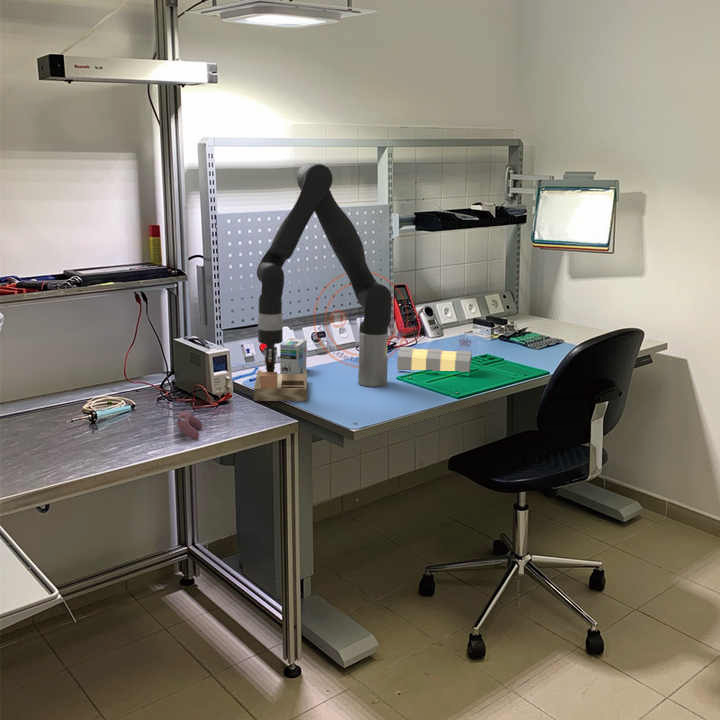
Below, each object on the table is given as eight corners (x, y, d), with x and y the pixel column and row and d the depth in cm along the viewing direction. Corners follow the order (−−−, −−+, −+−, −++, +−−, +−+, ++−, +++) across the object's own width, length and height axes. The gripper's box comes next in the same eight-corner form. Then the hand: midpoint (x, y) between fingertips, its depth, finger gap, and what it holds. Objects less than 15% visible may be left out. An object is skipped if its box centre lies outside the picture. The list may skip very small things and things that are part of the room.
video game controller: (189, 433, 219) (176, 411, 217) (204, 425, 219) (191, 403, 217) (184, 445, 210) (171, 422, 208) (200, 438, 210) (187, 415, 208)
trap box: (306, 381, 267) (306, 370, 266) (306, 400, 245) (307, 389, 244) (257, 381, 265) (257, 370, 265) (253, 400, 244) (253, 389, 243)
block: (277, 387, 250) (277, 371, 249) (276, 392, 245) (276, 376, 244) (261, 387, 250) (260, 371, 248) (260, 391, 245) (260, 376, 243)
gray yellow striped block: (470, 370, 287) (472, 334, 284) (469, 378, 277) (471, 340, 274) (400, 365, 291) (402, 330, 288) (396, 373, 281) (398, 336, 278)
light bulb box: (298, 376, 272) (298, 345, 270) (279, 375, 273) (279, 344, 271) (307, 369, 282) (307, 339, 280) (288, 367, 284) (288, 337, 281)
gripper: (282, 331, 243) (282, 387, 247) (282, 322, 255) (282, 375, 259) (257, 331, 242) (257, 387, 246) (258, 322, 255) (259, 375, 259)
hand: (270, 381), depth 253 cm, fingers closed
